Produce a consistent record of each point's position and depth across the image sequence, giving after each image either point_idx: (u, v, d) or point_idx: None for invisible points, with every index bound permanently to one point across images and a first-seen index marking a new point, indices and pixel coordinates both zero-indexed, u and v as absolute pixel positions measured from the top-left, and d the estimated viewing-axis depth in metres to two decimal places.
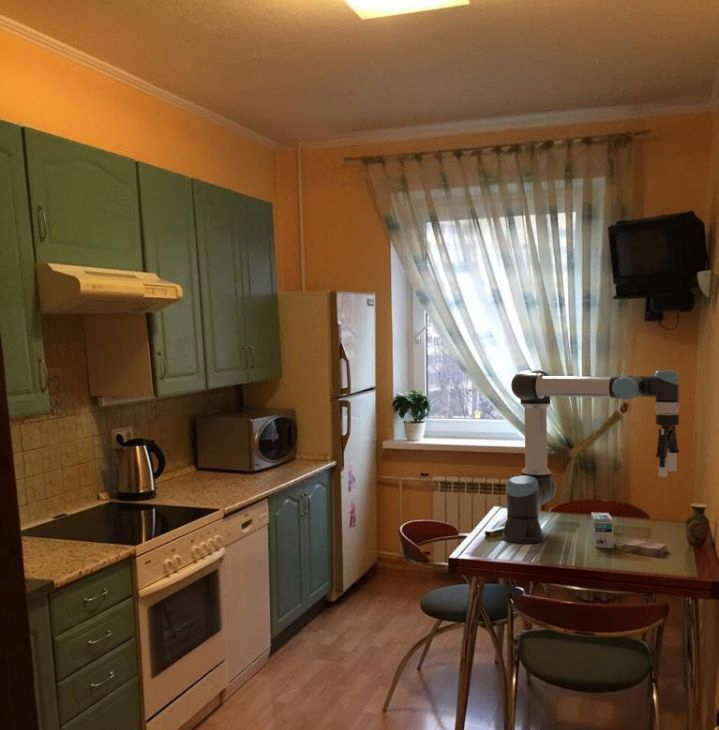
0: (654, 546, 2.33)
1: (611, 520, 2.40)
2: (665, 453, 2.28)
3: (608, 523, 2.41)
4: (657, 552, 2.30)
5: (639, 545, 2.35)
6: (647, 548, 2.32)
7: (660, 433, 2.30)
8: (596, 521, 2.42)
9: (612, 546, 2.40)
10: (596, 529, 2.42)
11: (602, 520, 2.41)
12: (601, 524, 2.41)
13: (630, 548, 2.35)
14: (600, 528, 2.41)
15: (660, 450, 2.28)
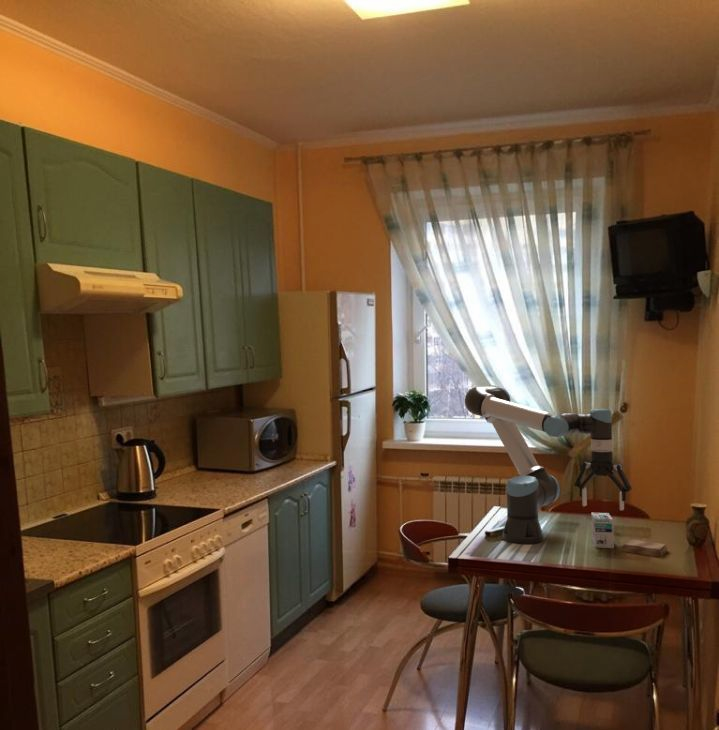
0: (654, 546, 2.33)
1: (611, 520, 2.40)
2: (580, 484, 2.49)
3: (608, 523, 2.41)
4: (657, 552, 2.30)
5: (639, 545, 2.35)
6: (647, 548, 2.32)
7: None
8: (596, 521, 2.42)
9: (612, 546, 2.40)
10: (596, 529, 2.42)
11: (602, 520, 2.41)
12: (601, 524, 2.41)
13: (630, 548, 2.35)
14: (600, 528, 2.41)
15: (577, 480, 2.52)
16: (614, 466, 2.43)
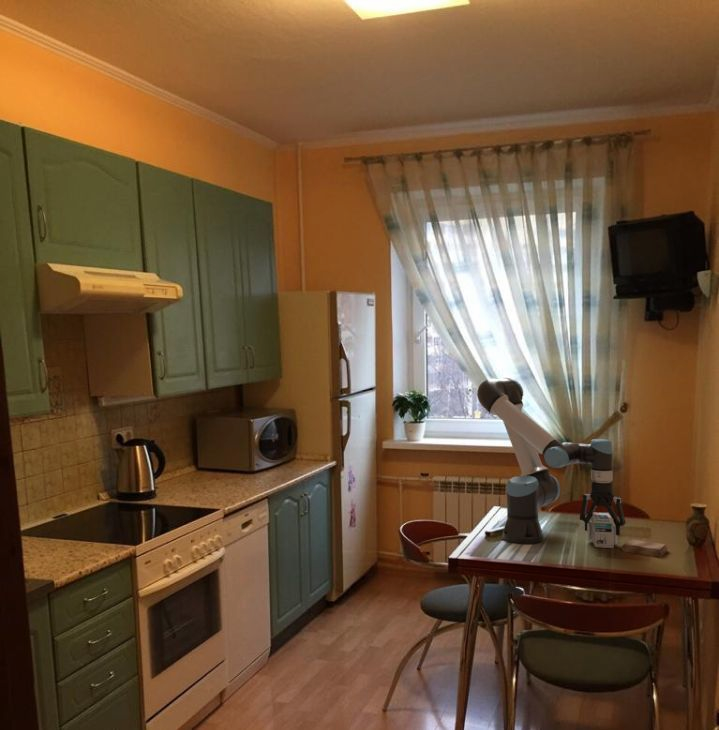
0: (654, 546, 2.33)
1: (611, 520, 2.40)
2: (585, 518, 2.49)
3: (608, 523, 2.41)
4: (657, 552, 2.30)
5: (639, 545, 2.35)
6: (647, 548, 2.32)
7: None
8: (596, 521, 2.42)
9: (612, 546, 2.40)
10: (596, 529, 2.42)
11: (602, 520, 2.41)
12: (601, 524, 2.41)
13: (630, 548, 2.35)
14: (600, 528, 2.41)
15: None
16: (614, 498, 2.43)
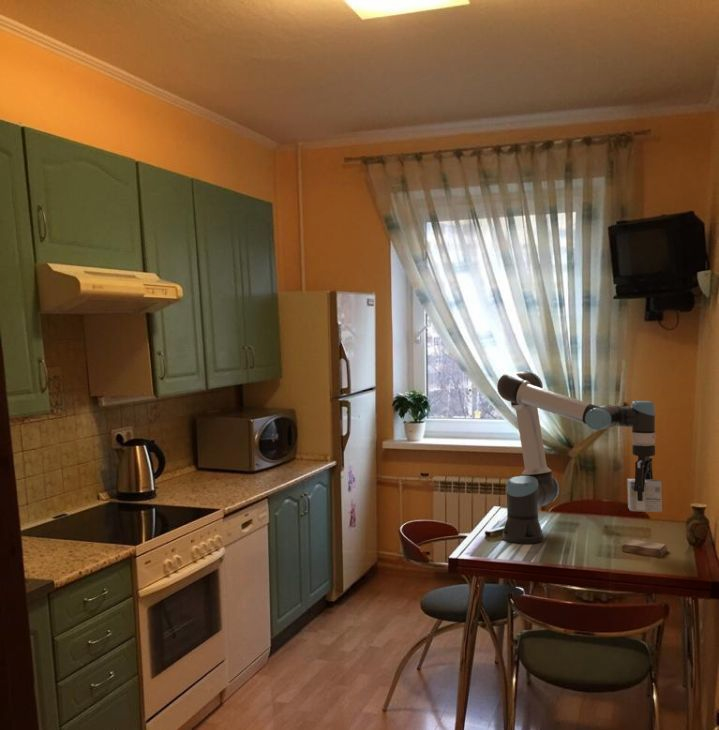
0: (654, 546, 2.33)
1: (658, 480, 2.38)
2: (643, 487, 2.31)
3: None
4: (657, 552, 2.30)
5: (639, 545, 2.35)
6: (647, 548, 2.32)
7: (636, 467, 2.31)
8: None
9: None
10: (661, 493, 2.33)
11: None
12: None
13: (630, 548, 2.35)
14: None
15: (637, 484, 2.30)
16: None
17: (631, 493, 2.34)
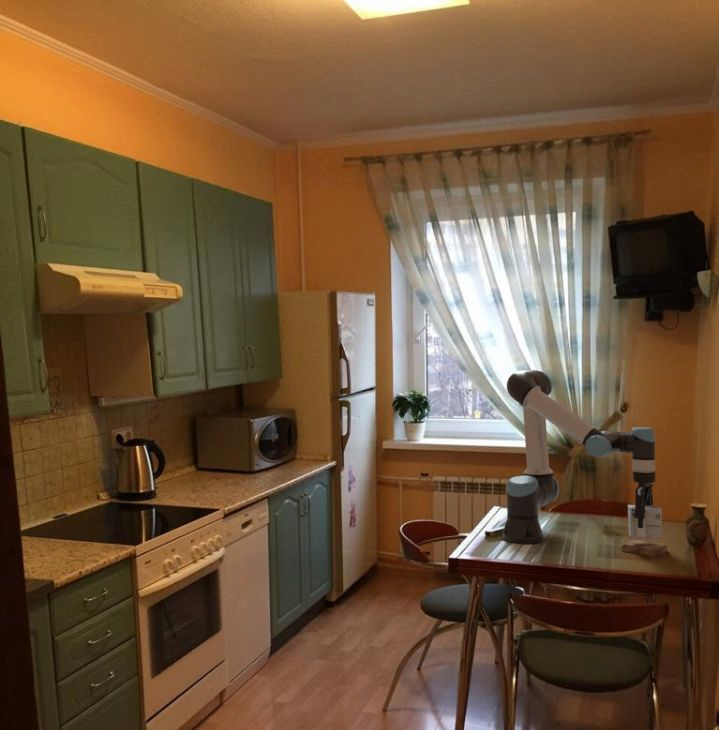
0: (654, 546, 2.33)
1: (658, 506, 2.38)
2: (643, 514, 2.31)
3: None
4: (657, 552, 2.30)
5: (639, 545, 2.35)
6: (647, 548, 2.32)
7: (637, 494, 2.31)
8: (661, 511, 2.33)
9: None
10: (661, 519, 2.33)
11: None
12: None
13: (630, 548, 2.35)
14: None
15: (638, 512, 2.30)
16: None
17: (631, 520, 2.34)
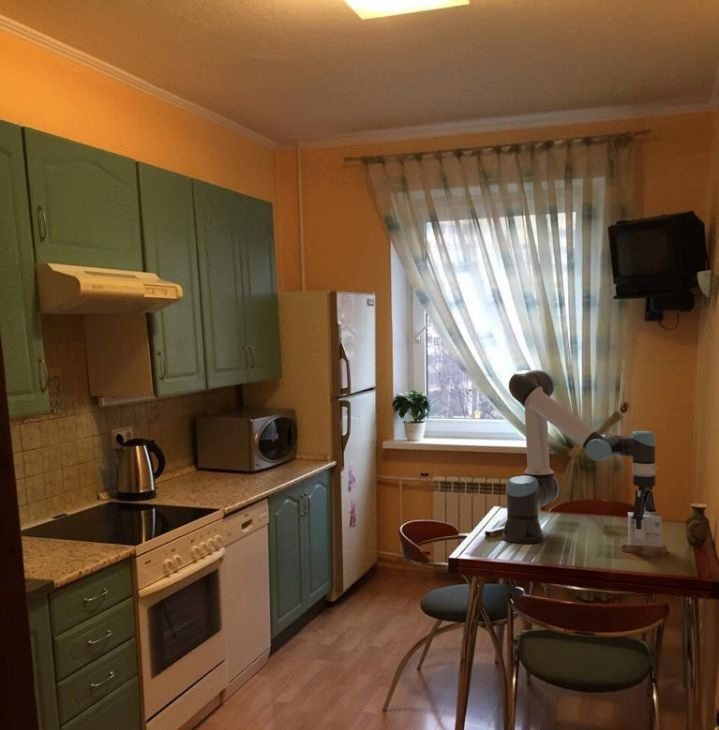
0: None
1: (658, 514, 2.37)
2: (641, 515, 2.30)
3: None
4: (657, 552, 2.30)
5: None
6: (647, 548, 2.32)
7: (636, 495, 2.31)
8: None
9: None
10: (661, 528, 2.32)
11: None
12: None
13: (630, 548, 2.35)
14: None
15: (636, 512, 2.29)
16: None
17: (631, 528, 2.35)
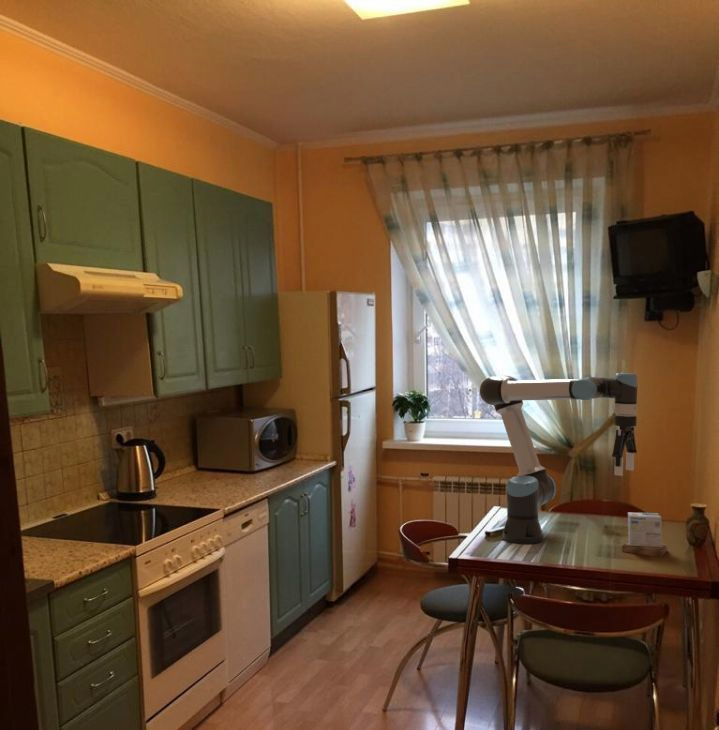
0: None
1: (658, 514, 2.37)
2: (621, 453, 2.37)
3: None
4: (657, 552, 2.30)
5: None
6: (647, 548, 2.32)
7: (617, 433, 2.38)
8: None
9: None
10: (661, 528, 2.32)
11: None
12: None
13: (630, 548, 2.35)
14: None
15: (616, 450, 2.36)
16: None
17: (631, 528, 2.35)
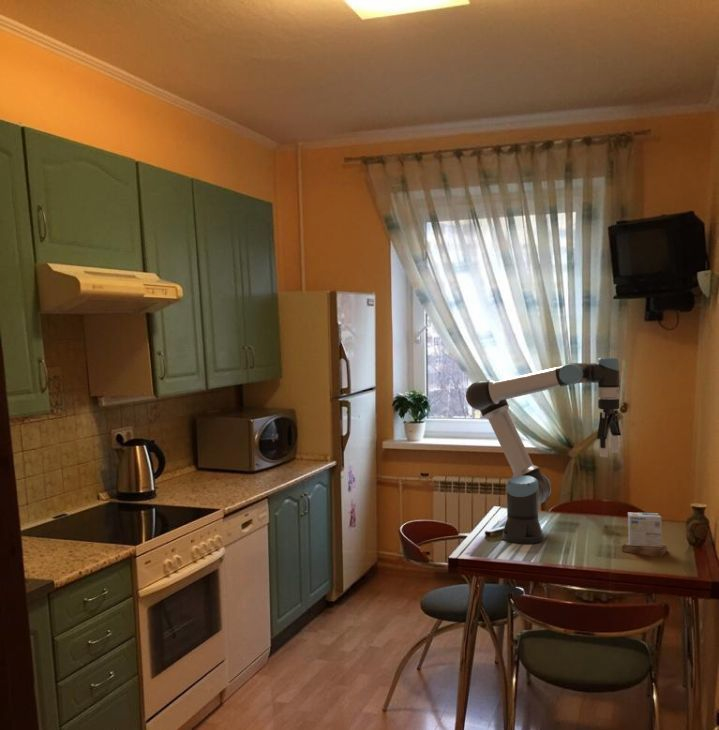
0: None
1: (658, 514, 2.37)
2: (605, 435, 2.43)
3: None
4: (657, 552, 2.30)
5: None
6: (647, 548, 2.32)
7: (601, 416, 2.45)
8: None
9: None
10: (661, 528, 2.32)
11: None
12: None
13: (630, 548, 2.35)
14: None
15: (600, 432, 2.42)
16: None
17: (631, 528, 2.35)
